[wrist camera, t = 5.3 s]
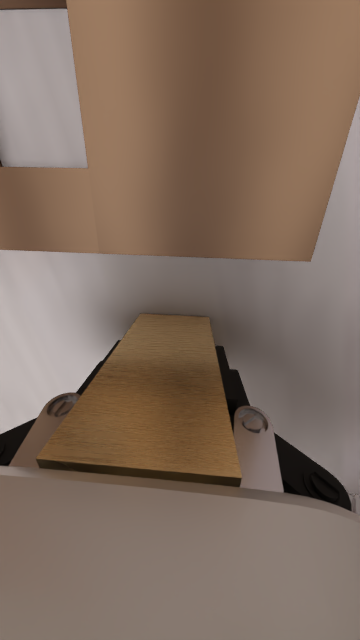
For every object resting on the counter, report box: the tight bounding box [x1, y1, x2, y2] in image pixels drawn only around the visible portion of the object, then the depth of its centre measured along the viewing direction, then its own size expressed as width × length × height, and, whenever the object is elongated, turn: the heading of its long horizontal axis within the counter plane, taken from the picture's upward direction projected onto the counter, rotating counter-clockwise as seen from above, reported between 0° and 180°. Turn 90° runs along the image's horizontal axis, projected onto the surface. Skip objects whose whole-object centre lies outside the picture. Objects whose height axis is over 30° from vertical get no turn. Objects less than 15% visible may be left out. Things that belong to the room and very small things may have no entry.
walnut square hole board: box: [0, 0, 360, 262], centre depth 7 cm, size 20×12×3 cm, turn 88°
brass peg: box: [36, 314, 242, 487], centre depth 9 cm, size 4×4×9 cm
